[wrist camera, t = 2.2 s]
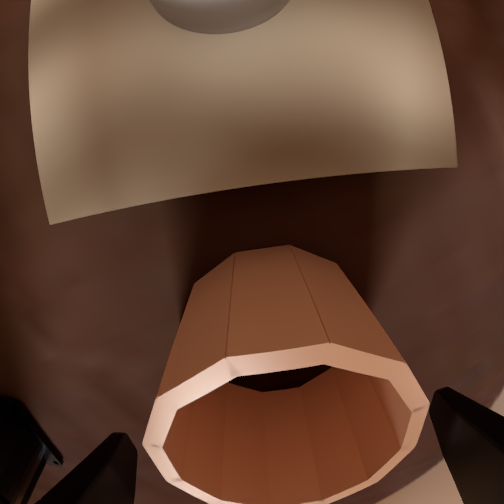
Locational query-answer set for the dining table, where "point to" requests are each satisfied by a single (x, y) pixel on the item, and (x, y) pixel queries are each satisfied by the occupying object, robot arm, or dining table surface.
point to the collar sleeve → (287, 400)
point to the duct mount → (229, 96)
